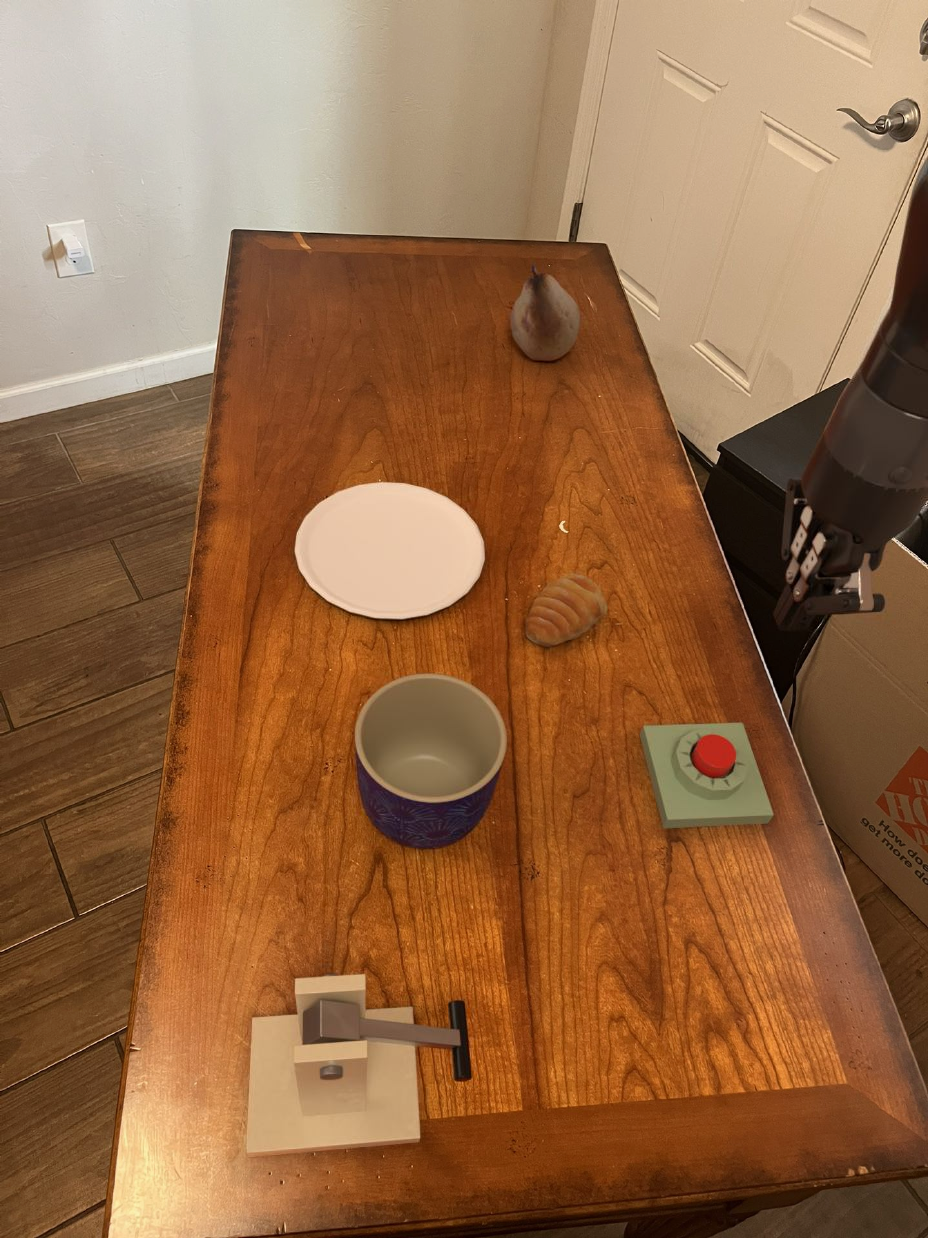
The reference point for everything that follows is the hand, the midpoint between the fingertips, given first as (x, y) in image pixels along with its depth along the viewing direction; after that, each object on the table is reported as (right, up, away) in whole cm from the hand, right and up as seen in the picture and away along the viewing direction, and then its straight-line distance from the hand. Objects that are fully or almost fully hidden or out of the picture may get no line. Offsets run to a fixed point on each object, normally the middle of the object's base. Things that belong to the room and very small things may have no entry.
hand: (787, 622), depth 71 cm
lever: (-30, -27, -9) cm, 42 cm away
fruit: (-14, +38, +61) cm, 73 cm away
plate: (-33, +8, +33) cm, 47 cm away
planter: (-28, -16, +14) cm, 35 cm away
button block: (-2, -15, +18) cm, 23 cm away
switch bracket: (-34, -34, -2) cm, 48 cm away
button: (-2, -13, +15) cm, 20 cm away
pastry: (-14, 0, +29) cm, 32 cm away
